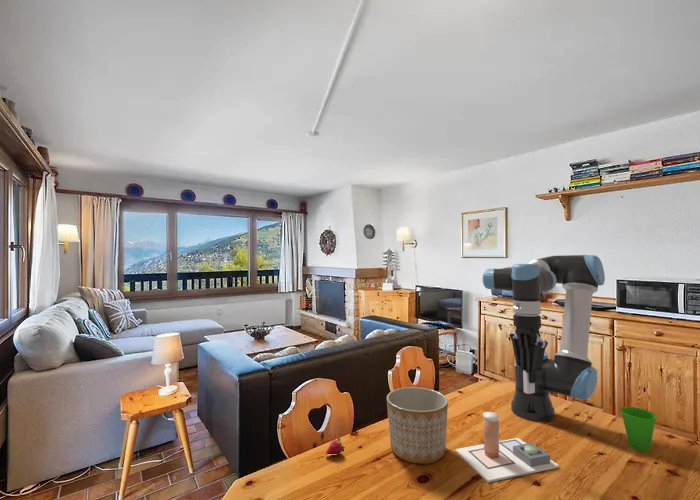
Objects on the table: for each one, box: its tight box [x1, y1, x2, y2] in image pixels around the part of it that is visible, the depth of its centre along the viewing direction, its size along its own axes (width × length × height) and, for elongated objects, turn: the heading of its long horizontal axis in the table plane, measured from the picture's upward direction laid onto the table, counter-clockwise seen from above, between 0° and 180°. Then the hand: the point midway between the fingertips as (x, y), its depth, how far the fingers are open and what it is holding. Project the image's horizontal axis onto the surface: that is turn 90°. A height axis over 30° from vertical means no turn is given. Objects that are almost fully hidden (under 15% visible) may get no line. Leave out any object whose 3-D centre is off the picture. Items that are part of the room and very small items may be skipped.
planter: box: [386, 386, 449, 465], centre depth 109 cm, size 19×19×16 cm
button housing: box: [513, 442, 551, 467], centre depth 103 cm, size 7×7×2 cm
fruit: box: [325, 437, 346, 455], centre depth 107 cm, size 4×6×5 cm
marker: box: [482, 411, 500, 458], centre depth 105 cm, size 4×4×12 cm
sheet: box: [454, 437, 560, 483], centre depth 104 cm, size 16×24×1 cm, turn 105°
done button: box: [524, 445, 538, 456], centre depth 103 cm, size 4×4×2 cm
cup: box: [619, 406, 658, 453], centre depth 109 cm, size 9×9×11 cm
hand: (529, 392), depth 103 cm, fingers closed
